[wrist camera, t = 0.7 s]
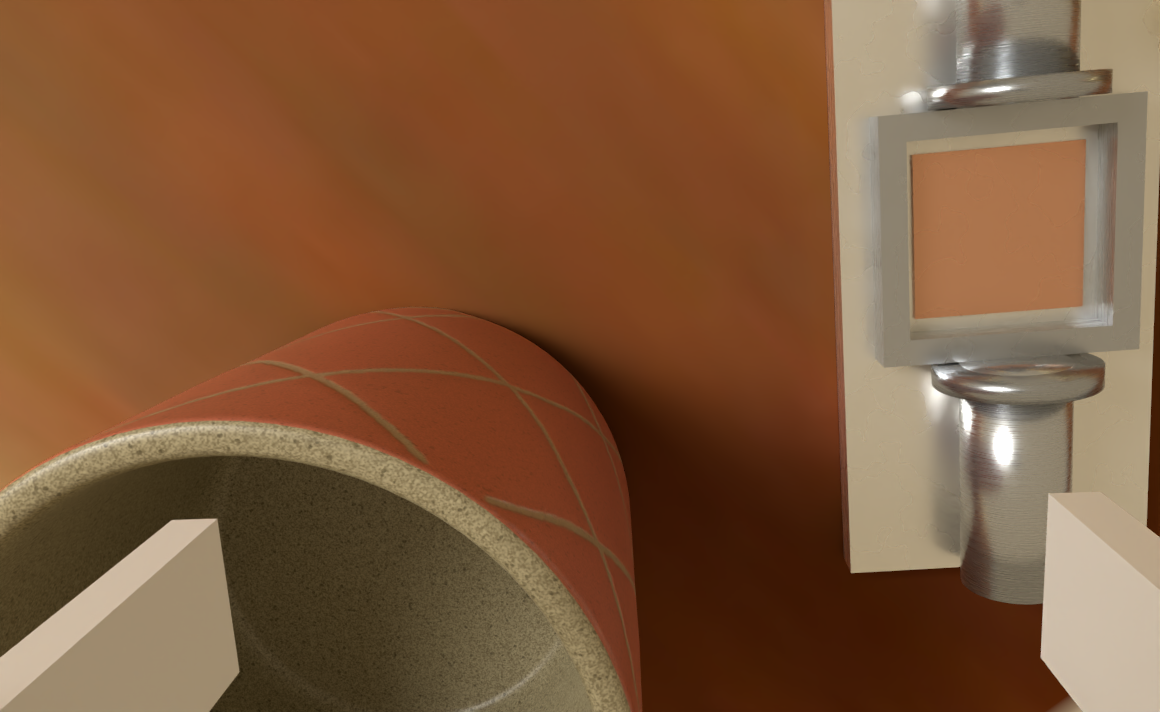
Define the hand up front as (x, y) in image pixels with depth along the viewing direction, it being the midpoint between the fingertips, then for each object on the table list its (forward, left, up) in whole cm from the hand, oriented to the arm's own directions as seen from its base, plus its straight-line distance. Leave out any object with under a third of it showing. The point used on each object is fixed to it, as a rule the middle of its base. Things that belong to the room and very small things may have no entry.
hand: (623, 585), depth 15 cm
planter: (+8, -10, -26) cm, 29 cm away
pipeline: (-2, +14, -26) cm, 30 cm away
